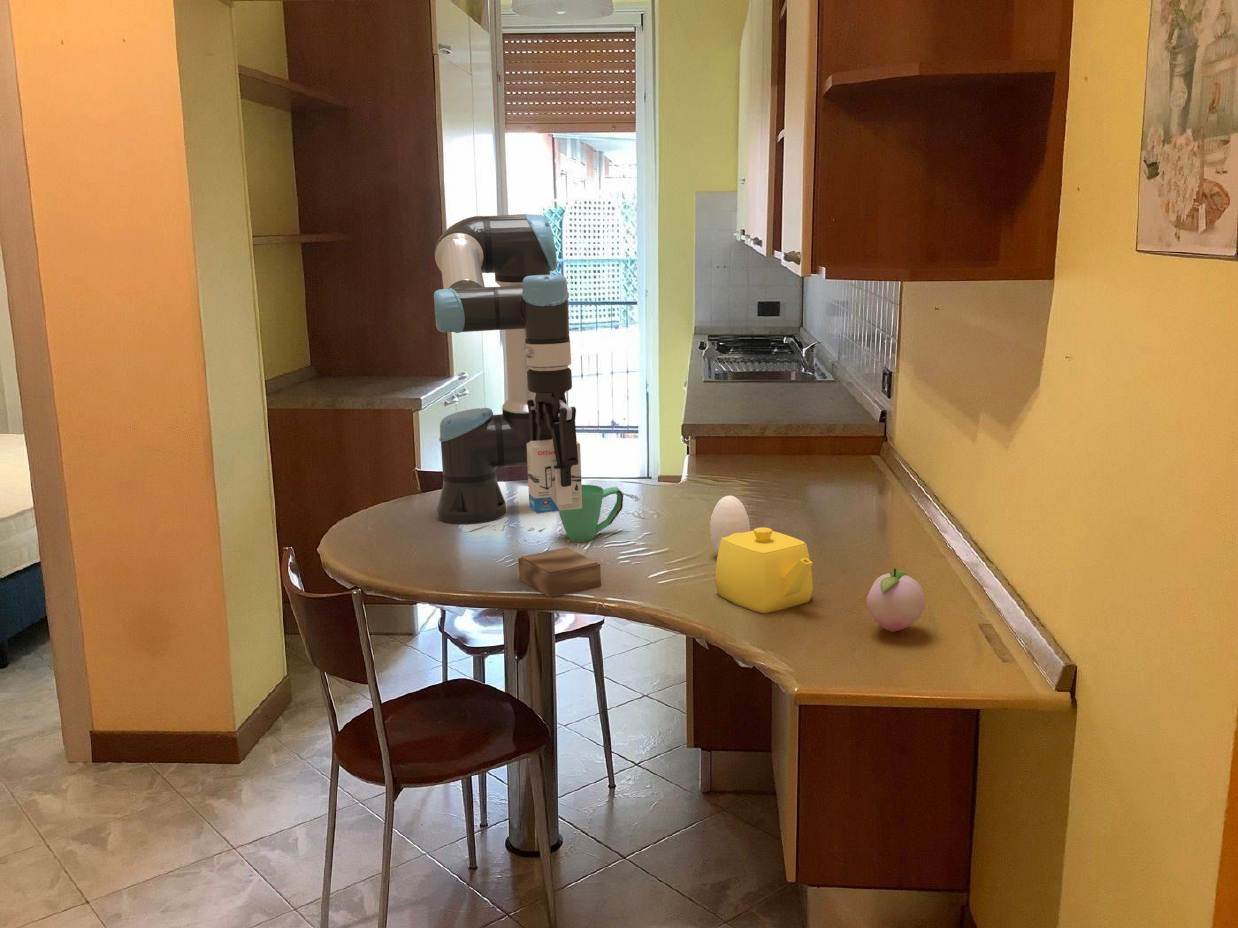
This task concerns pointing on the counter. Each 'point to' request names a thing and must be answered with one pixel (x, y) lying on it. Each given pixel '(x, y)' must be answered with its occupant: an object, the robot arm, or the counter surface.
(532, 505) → the ink box
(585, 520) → the mug
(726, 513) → the egg
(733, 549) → the teapot
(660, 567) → the counter surface
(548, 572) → the plinth
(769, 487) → the counter surface
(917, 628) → the counter surface
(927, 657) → the counter surface
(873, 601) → the decorative fruit
